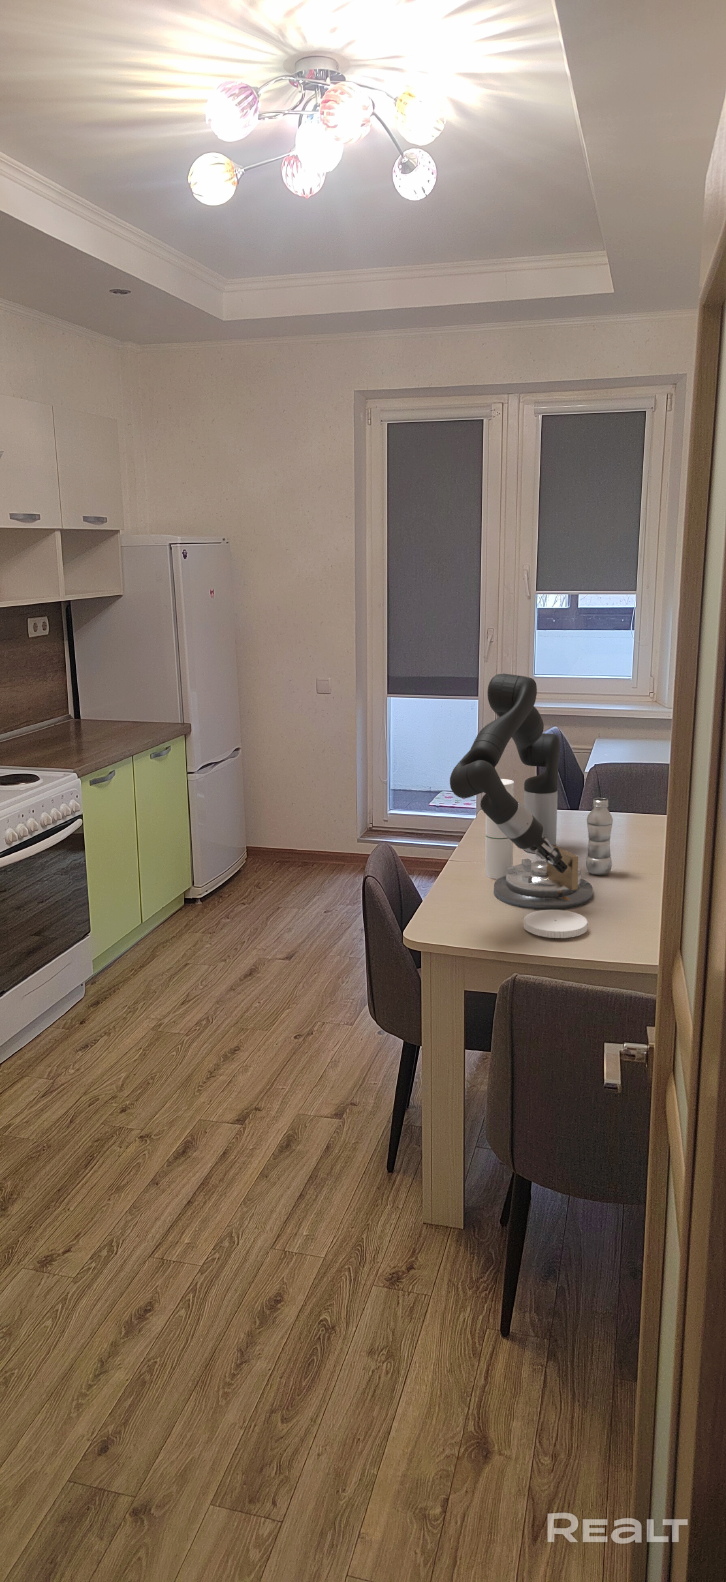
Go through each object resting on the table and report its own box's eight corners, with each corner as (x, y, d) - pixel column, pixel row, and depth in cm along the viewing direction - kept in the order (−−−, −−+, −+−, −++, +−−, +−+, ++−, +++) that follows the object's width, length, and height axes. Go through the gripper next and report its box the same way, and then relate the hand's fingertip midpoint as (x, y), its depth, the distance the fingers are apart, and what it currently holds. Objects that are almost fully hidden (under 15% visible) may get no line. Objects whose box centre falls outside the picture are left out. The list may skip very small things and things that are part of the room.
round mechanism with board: (493, 879, 261) (493, 837, 259) (554, 870, 268) (555, 828, 265) (540, 907, 241) (541, 861, 238) (606, 896, 247) (608, 852, 245)
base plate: (476, 886, 264) (476, 877, 263) (558, 874, 272) (559, 866, 272) (524, 915, 242) (524, 906, 241) (612, 901, 250) (612, 893, 250)
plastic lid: (517, 921, 239) (517, 911, 239) (576, 918, 240) (576, 908, 240) (532, 944, 226) (532, 933, 225) (595, 940, 227) (595, 929, 226)
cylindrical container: (514, 872, 274) (516, 779, 269) (509, 880, 268) (510, 785, 262) (488, 869, 277) (489, 778, 271) (482, 877, 270) (483, 784, 265)
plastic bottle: (612, 878, 268) (614, 802, 263) (585, 877, 269) (587, 802, 265) (611, 870, 274) (614, 796, 270) (585, 869, 275) (587, 796, 271)
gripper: (544, 818, 230) (589, 864, 237) (514, 805, 242) (558, 850, 249) (522, 844, 230) (568, 890, 237) (493, 830, 242) (538, 874, 249)
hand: (563, 869), depth 243 cm, fingers closed
